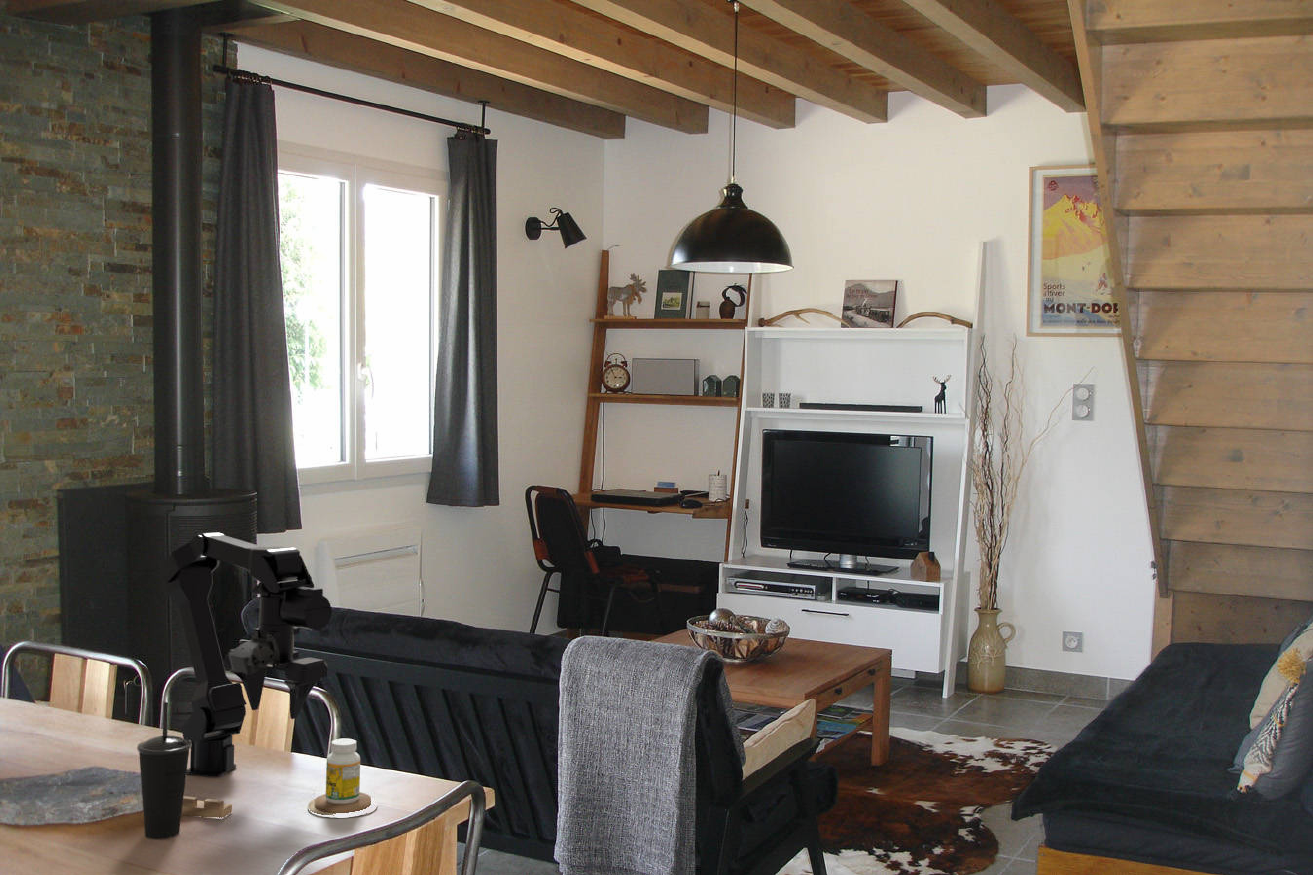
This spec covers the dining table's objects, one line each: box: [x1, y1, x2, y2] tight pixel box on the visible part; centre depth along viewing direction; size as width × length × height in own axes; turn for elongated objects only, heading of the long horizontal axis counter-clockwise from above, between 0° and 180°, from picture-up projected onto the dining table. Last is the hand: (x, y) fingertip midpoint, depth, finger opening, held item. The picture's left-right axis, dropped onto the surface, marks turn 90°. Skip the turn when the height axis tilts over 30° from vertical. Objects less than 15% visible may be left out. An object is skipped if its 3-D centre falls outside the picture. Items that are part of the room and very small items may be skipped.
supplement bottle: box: [325, 738, 361, 804], centre depth 203 cm, size 5×5×10 cm
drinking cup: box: [136, 701, 192, 840], centre depth 188 cm, size 8×8×20 cm
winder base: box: [307, 791, 372, 816], centre depth 203 cm, size 11×11×1 cm
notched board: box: [181, 795, 233, 818], centre depth 197 cm, size 8×3×3 cm, turn 78°
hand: (274, 714), depth 210 cm, fingers open, 9 cm apart
